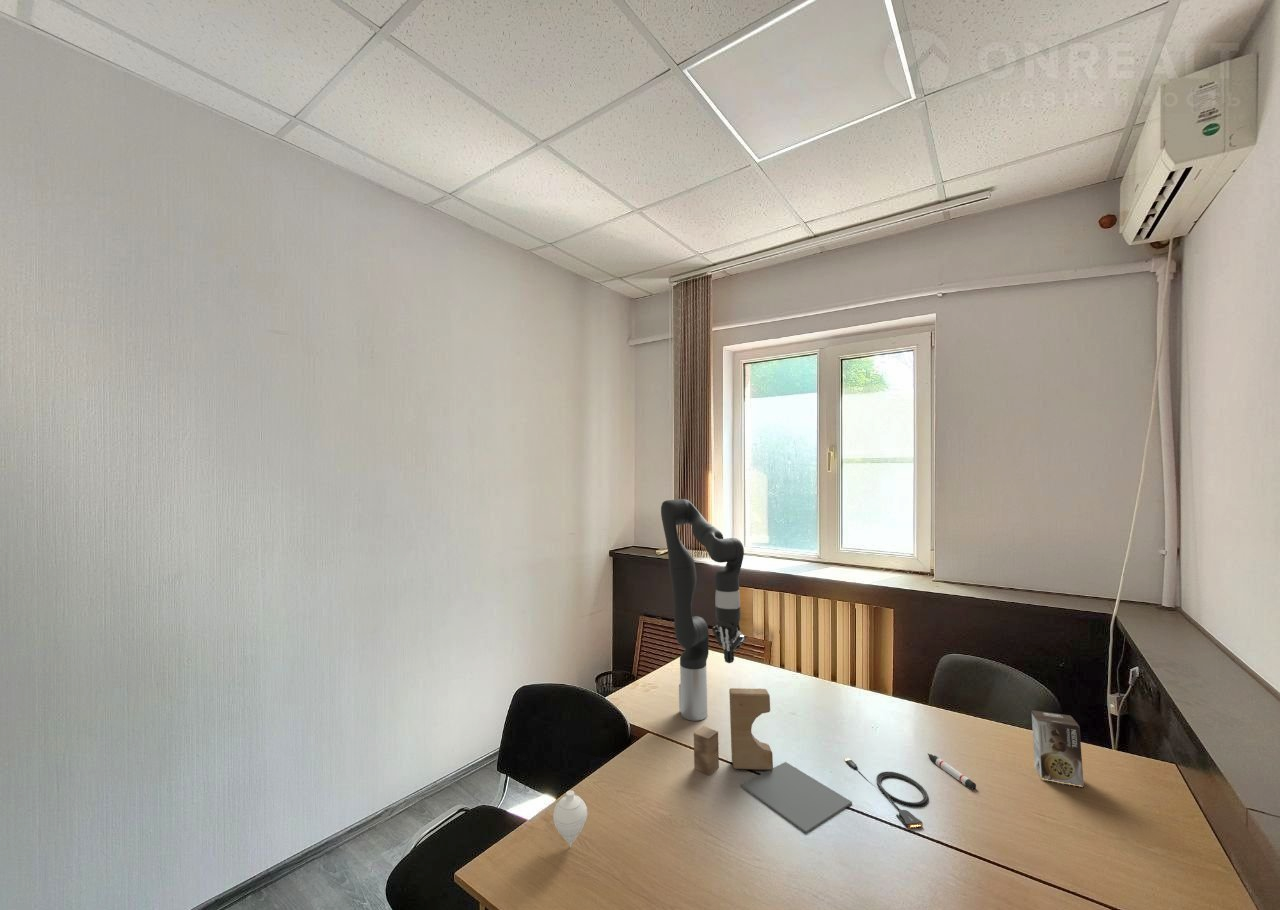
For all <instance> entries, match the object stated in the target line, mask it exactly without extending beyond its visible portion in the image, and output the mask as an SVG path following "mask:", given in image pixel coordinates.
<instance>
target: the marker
mask: <svg viewBox="0 0 1280 910" xmlns="http://www.w3.org/2000/svg"><path fill="white" fill-rule="evenodd" d="M927 756H928V758H929V759H930V760H931V762H933V763H934V764H935V765H937V766H938V767H939V768H940V769H942V770H943V771H944V772H946V773H947V774H949V776H951V775H952V777H953V778H954V779H956V780H957V781H958V780H959V783H961V782H962V784H963V785H964V786H965V785H966V786H965V787H969V789H970V790H973V789H972V788H975V789H977V784H976V783H975V782H974V781H973V780H971V779H970V778H968V777H967V776H965V775H964V773H961V772H960V771H958V770H957V769H955V767H952V766H951V765H950V764H949V763H947V762H946V761H944V760H943V759H941V758H940V757H938V756H937V755H933V754H930V753H927Z"/></svg>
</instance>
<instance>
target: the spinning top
mask: <svg viewBox="0 0 1280 910" xmlns="http://www.w3.org/2000/svg"><path fill="white" fill-rule="evenodd" d="M552 818H553V823H554V825H555V828H556V830H557V832H558V833H559V834H560V836H561V837H562V838H563V839H564V840H565V841H566V842H567V843H568V844H569V848H572V844H573V843H574V841H575V840H576V839H577V837H579V835H580V833H581V831H582V830H583V828H584V826H585V824H586V821H587V818H588V807H587V805H586V803H585V801H584V800H583V799H582V798H581V797H580V796H579V795H577V794H575V791H574V790H570V789H569V790H568V791H566V793H565V796H563V797H561V798H560V800H559V801H558V802H557V803H556V805H555V807H554V810H553V814H552Z"/></svg>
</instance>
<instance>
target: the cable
mask: <svg viewBox="0 0 1280 910" xmlns="http://www.w3.org/2000/svg"><path fill="white" fill-rule="evenodd" d="M844 762H845V763H846V764H847V765H848V767H849V768H851V769H853V770H856V772H858V774H859V775H860V776H861V777H862V778H864V779H865V781H867V782H868V783H869V784H871V785H872V786H873V787H875V785H874V784H873V783H871V782H870V781H869V779H867V778H866V776H864V774H862V772H860V770H859V767H858V766H857V764H856V763H855V762H854V760H852V759H851V758H844ZM889 778H890V779H891V778H892V779H898V780H902V781H905V782H907V783H909V784H911V785H912V786H914V787H916V789H918V790H919V791H920V793H921V794H922V796H923V797H922V798H923V799H922V800H920V801H918V802H917V801H916V802H915V801H914V802H913V801H906V800H903V799H900V798H897V797H896V796H893V795H892V794H891V793H889V792H888V791H887V790H886V789H885V788H884V787H883V786H882V782H883V780H886V779H889ZM876 784H877V787H878V789H879V790H880V792H881V793H882V794H883V795H884V796H886V797H887V798H888V800H889V801H890V802H891V803H892V804H893V806H894V807H895V808H896V809H897V810H898V813H897V814H896V817H897V819H898V820H899V821H900V822H901V823H902V824H903V825H904V826H905V828H907V829H909V830H913V829H914V828H916V829H918V828H920V829H922V828H923V821H922V820H921V819H919V818H917V817H916V816H915V815H914V814H913V813H911V812H910V811H908V809H900V808H899V806H898V805H897V804H896V803H898V804H899V805H902V806H905V807H908V808H909V807H910V808H923V807H925V806H927V805H928V803H929V801H930V800H929V799H930V798H929V794H928V793H927V790H926V789H925V788H924V787H923V785H921V784H920V783H919V782H918V781H916V780H914V779H913V778H911V777H909V776H907V775H905V774H903V773H899V772H895V771H882V772H879V773H878V774H877V776H876ZM895 802H896V803H895Z"/></svg>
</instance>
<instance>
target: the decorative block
mask: <svg viewBox="0 0 1280 910" xmlns="http://www.w3.org/2000/svg"><path fill="white" fill-rule="evenodd" d="M728 691H729V693H728V694H729V717H730V719H729V720H730V723H729V724H730V747H731V753H730V754H731V762H732V767H733V769H734V770H759V771H761V770H762V771H764V770H765V771H768V770H772V769H773V768H774V760H773V758H774V757H773V756H774V755H773V751H772V749H771V746H770V745H769V743H765V742H762V741H760V740H758V739H757V738H756V737H755V735H754V734H753V733H752V727H753V724H754V722H755V721H756V719H757V718H759V717H760V716H761V715H762V714H767V713H770V712H771V698H770V696H771V695H770V694H769V692H768V689H766V688H740V687H738V688H734V687H732V688H729V690H728Z"/></svg>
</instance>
